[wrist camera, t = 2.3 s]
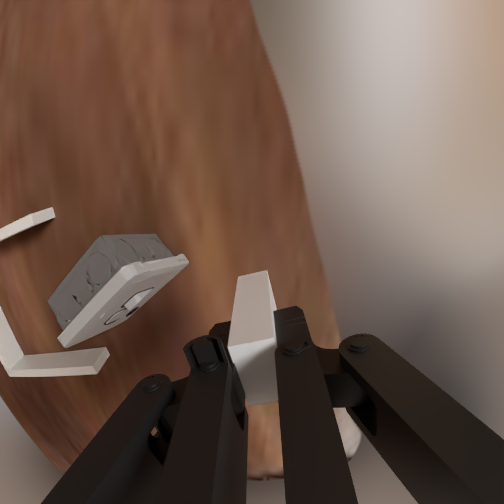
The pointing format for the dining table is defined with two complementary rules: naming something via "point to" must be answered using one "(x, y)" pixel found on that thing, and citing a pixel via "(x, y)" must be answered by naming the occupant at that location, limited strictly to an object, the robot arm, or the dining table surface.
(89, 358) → the u-shaped bracket
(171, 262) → the electrical switch
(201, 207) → the dining table surface
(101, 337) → the dining table surface
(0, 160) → the dining table surface
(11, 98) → the dining table surface
